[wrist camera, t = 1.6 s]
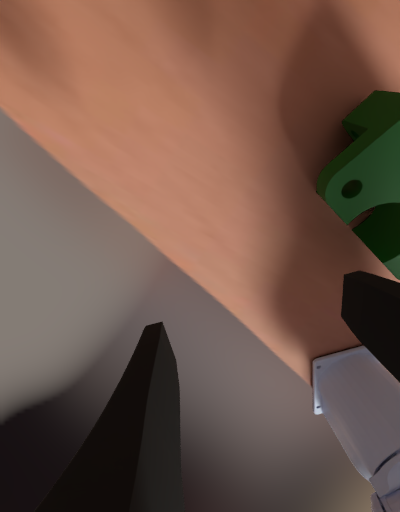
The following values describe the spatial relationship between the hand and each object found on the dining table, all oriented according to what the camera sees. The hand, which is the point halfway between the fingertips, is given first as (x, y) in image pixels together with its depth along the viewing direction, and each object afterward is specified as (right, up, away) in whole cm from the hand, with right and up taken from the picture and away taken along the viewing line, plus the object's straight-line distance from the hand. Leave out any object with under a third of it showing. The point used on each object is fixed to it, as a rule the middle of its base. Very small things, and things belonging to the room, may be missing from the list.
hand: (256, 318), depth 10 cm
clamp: (+10, +8, +10) cm, 16 cm away
